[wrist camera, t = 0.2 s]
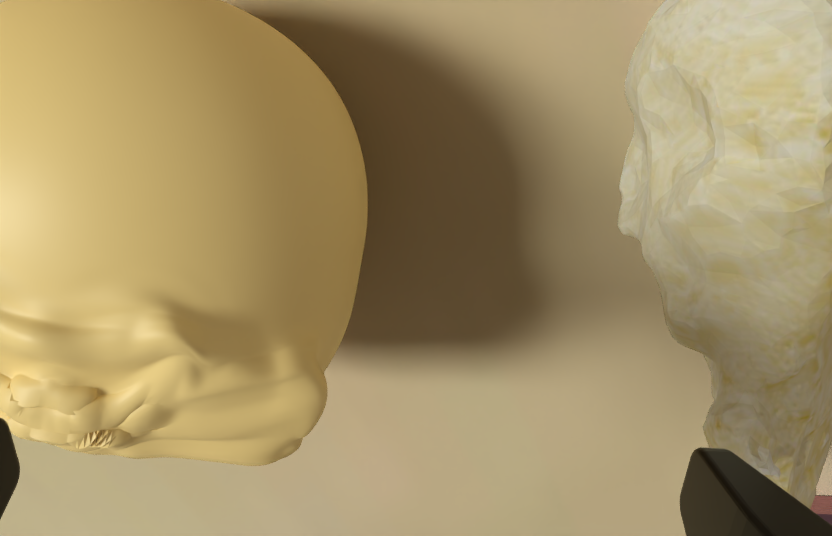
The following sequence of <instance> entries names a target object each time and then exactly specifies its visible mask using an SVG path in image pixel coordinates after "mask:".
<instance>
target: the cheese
mask: <svg viewBox="0 0 832 536" xmlns="http://www.w3.org/2000/svg"><path fill="white" fill-rule="evenodd" d="M625 96H626V99H627V102H628V105H629V107H630V109H631V111H632V113H633V115H634V135H633V138H632V141H631V143H630V145H629V148H628V151H627V154H626V157H625V161H624V167H623V171H622V175H621V180H620V185H619V189H620V192H621V195H622V204H621V207H620V210H619V216H618V227H619V229H620V231H621V232H622V234H624V235H627V236H630V237H633V238H636V239H638V240H639V241H640V243H641V245H642V255H643V258H644V261H645V262H646V263H647V264H648V266H649V267H650V268H651V269H652V270H653V273H654V275H655V278H656V280H657V283H658V285H659V288H660V292H661V297H662V303H663V309H664V315H665V321H666V324H667V326H668V328H669V331H670V333H671V335H672V337H673V338H674V339H675V340H676V341H677V342H678V343H680V344H682V345H684V346H685V347H688V348H690V349H693V350H696V351H699V352H700V353H702V354H704V357H705V359H706V362H707V364H708V367H709V369H710V371H711V389H712V396H713V398H714V403H713V404H712V405H711V407H710V409H709V412H708V415H707V417H706V421H705V423H704V425H703V431H704V434H705V437H706V439H707V442H708V445H709V448H723V449H728V450H730V451H731V452H733V453H735V454H736V455H737V456H739V457H740V458H741V459H743V460H744V461H745V462H747V463H748V464H749V465H751V466H752V467H754V468H755V469H756V470H758V471H759V472H760V473H762V474H763V475H764V476H766V477H767V478H768V479H770V480H771V481H773V482H774V483H775V484H777V485H778V486H779V487H781V488H782V489H783V490H785V491H786V492H787V493H789V494H790V495H792V496H793V497H794V498H796V499H797V500H798V501H800V502H801V503H802V504H804V505H805V506H806V507H808V508H809V509H810V508H811V506H812V503H813V500H814V498H815V495H816V486H817V483H818V481H819V478H820V475H821V472H822V469H823V466H824V463H825V460H826V457H827V454H828V451H829V448H830V445H831V442H832V0H665V1H664V2H663V3H662V4H661V6H660V7H659V8H658V10H657V11H656V12H655V14H654V15H653V16H652V18H651V19H650V21H649V22H648V25H647V28H646V30H645V32H644V33H643V35H642V37H641V39H640V41H639V43H638V44H637V46H636V48H635V50H634V53H633V56H632V59H631V62H630V65H629V68H628V73H627V77H626V81H625Z"/></svg>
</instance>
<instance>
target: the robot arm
mask: <svg viewBox="0 0 832 536" xmlns="http://www.w3.org/2000/svg"><path fill="white" fill-rule="evenodd" d="M19 474H20V465H19V461H18V457H17V454H16V450H15V447H14V443H13V440H12V436H11V432H10V429H9V426H8V423H7V422H6V421H5V420H4V419H3V418H0V519H1V517H2V515H3V513H4V511H5V509H6V506H7V504H8V502H9V500H10V498H11V496H12V494H13V492H14V490H15V488H16V485H17V483H18V479H19ZM680 511H681V516H682V520H683V524H684V528H685V532H686V536H832V525H831V524H830V523H828V522H827V521H825V520H824V519H823V518H821V517H820V516H819V515H817V514H816V513H815V512H813V511H812V510H811V509H809V508H808V507H806V506H805V505H804V504H802V503H801V502H800V501H798V500H797V499H796V498H794V497H793V496H792V495H790V494H789V493H787V492H786V491H785V490H783V489H782V488H781V487H779V486H778V485H777V484H775V483H774V482H773V481H771V480H770V479H768V478H767V477H766V476H764V475H763V474H762V473H760V472H759V471H758V470H756V469H755V468H754V467H752V466H751V465H749V464H748V463H747V462H745V461H744V460H743V459H741V458H740V457H739V456H737V455H736V454H735V453H733V452H731V451H730V450H728V449H723V448H698V449H696V450H694V452H693V453H692V455H691V458H690V462H689V465H688V469H687V472H686V476H685V480H684V483H683V487H682V490H681V495H680Z"/></svg>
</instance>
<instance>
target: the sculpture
mask: <svg viewBox="0 0 832 536" xmlns="http://www.w3.org/2000/svg"><path fill="white" fill-rule="evenodd" d="M367 217H368V192H367V179H366V172H365V165H364V160H363V155H362V151H361V147H360V143H359V140H358V137H357V134H356V131H355V128H354V125H353V123H352V120H351V118H350V116H349V113H348V111H347V109H346V107H345V105H344V103H343V102H342V100H341V98H340V96H339V95H338V93H337V91H336V90H335V88H334V87H333V85H332V84H331V82H330V81H329V80H328V78H327V77H326V76H325V74H324V73H323V72H322V71H321V70H320V68H319V67H318V66H317V65H316V64H315V63H314V62H313V61H312V60H311V59H310V58H309V57H308V56H307V55H306V54H305V53H304V52H303V51H302V50H301V49H300V48H299V47H298V46H297V45H295V44H294V43H293V42H292V41H291V40H289V39H288V38H287V37H285V36H284V35H283V34H281V33H280V32H279V31H277V30H276V29H274V28H273V27H271V26H270V25H268V24H267V23H265V22H263V21H262V20H260V19H258V18H256V17H255V16H253V15H251V14H249V13H247V12H245V11H243V10H241V9H239V8H237V7H235V6H232V5H230V4H228V3H225V2H223V1H220V0H6V1H4V2H2V3H0V418H3V419H4V420H5V421H6V422H7V423H8V426H9V429H10V432H11V433H13V434H14V435H15V436H17V437H19V438H21V439H27V440H31V441H38V442H45V443H48V444H51V445H56V446H58V447H60V448H63V449H66V450H69V451H74V452H83V453H87V454H95V455H118V456H123V457H128V458H134V459H143V458H156V457H175V458H186V459H195V460H203V461H212V462H221V463H229V464H237V465H245V466H261V465H267V464H270V463H273V462H276V461H278V460H280V459H282V458H284V457H287V456H289V455H291V454H292V453H293V452H295V451H296V450H297V449H298V448H299V447H300V445H301V443H302V439H303V437H305V436H307V435H308V434H309V433H310V432H311V430H312V429H313V428H314V426H315V425H316V423H317V422H318V420H319V419H320V417H321V415H322V413H323V410H324V408H325V405H326V400H327V383H326V379H325V376H324V371H325V370H326V368H327V367H328V365H329V363H330V362H331V360H332V358H333V357H334V355H335V353H336V351H337V349H338V347H339V345H340V343H341V341H342V339H343V336H344V334H345V331H346V329H347V326H348V323H349V320H350V316H351V313H352V309H353V305H354V300H355V296H356V291H357V285H358V280H359V274H360V268H361V262H362V256H363V250H364V244H365V238H366V230H367Z"/></svg>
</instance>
